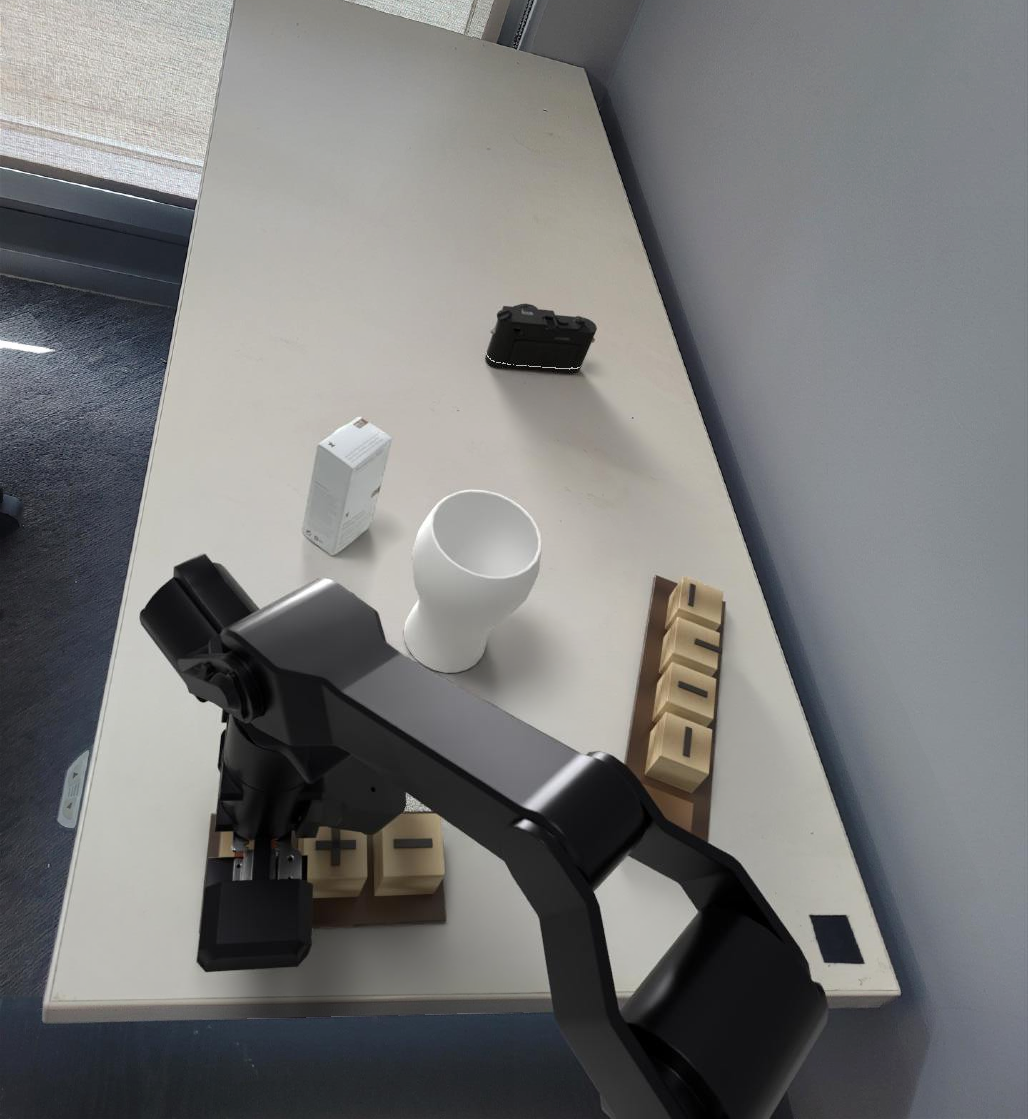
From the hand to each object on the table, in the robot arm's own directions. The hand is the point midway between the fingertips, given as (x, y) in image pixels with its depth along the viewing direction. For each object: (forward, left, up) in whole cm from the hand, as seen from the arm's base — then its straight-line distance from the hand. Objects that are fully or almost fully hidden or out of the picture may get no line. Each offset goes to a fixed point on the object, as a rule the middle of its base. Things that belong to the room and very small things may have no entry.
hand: (252, 854), depth 63 cm
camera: (+64, -31, -3) cm, 72 cm away
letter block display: (+14, -38, -3) cm, 40 cm away
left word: (0, -5, -3) cm, 6 cm away
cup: (+20, -16, -3) cm, 26 cm away
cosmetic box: (+32, -6, -3) cm, 33 cm away
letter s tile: (0, 0, -1) cm, 1 cm away
